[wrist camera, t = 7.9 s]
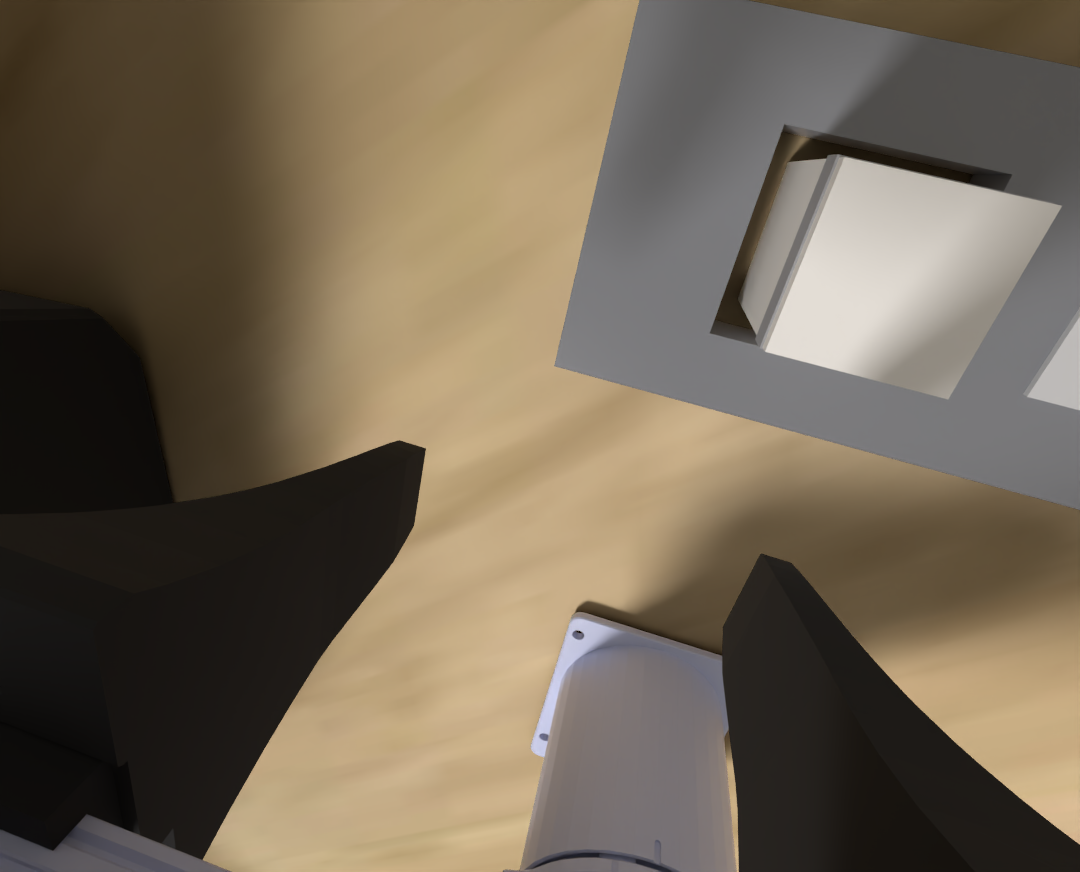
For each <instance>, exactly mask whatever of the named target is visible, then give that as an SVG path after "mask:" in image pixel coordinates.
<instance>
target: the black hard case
mask: <svg viewBox="0 0 1080 872" xmlns="http://www.w3.org/2000/svg"><path fill="white" fill-rule="evenodd" d="M171 503H173V501H172V496H171V492H170V488H169V483H168V479H167V475H166V470H165V466H164V461H163V457H162V453H161V448H160V444H159V440H158V435H157V431H156V427H155V422H154V418H153V413H152V409H151V405H150V400H149V396H148V392H147V387H146V383H145V378H144V374H143V370H142V365H141V361H140V357H139V356H138V355H137V354H136V353H135V352H134V351H133V350H132V349H131V348H130V346H129V345H128V344H127V343H126V342H125V341H124V340H123V339H122V338H121V337H120V336H119V335H118V334H117V332H116V331H115V330H114V329H113V328H112V327H111V326H110V325H109V324H108V323H107V322H106V321H105V320H104V319H103V318H102V317H101V316H99V315H98V314H96V313H95V312H94V311H92V310H91V309H89V308H84V307H80V306H75V305H70V304H65V303H60V302H55V301H51V300H46V299H41V298H36V297H31V296H26V295H22V294H17V293H12V292H7V291H2V290H0V514H38V513H74V512H92V511H105V510H118V509H130V508H139V507H149V506H157V505H165V504H171Z"/></svg>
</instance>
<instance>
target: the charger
mask: <svg viewBox="0 0 1080 872" xmlns="http://www.w3.org/2000/svg"><path fill="white" fill-rule="evenodd" d="M1061 207H1062V206H1061V205H1056V204H1053V202H1049V201H1045V200H1040V199H1036V198H1031V197H1027V196H1022V195H1018V194H1013V193H1009V192H1004V191H1000V190H995V189H991V188H987V187H982V186H978V185H973V184H969V183H964V182H960V181H955V180H951V179H946V178H942V177H937V176H933V175H929V174H924V173H920V172H915V171H911V170H906V169H902V168H897V167H893V166H888V165H884V164H879V163H875V162H871V161H866V160H862V159H857V158H853V157H848V156H844V155H839V154H835V155H828V156H827V159H816V160H805V161H794V162H788V164H787V166H786V169H785V172H784V174H783V177H782V180H781V183H780V185H779V188H778V191H777V193H776V196H775V199H774V201H773V204H772V207H771V210H770V212H769V215H768V218H767V220H766V223H765V226H764V229H763V231H762V234H761V237H760V239H759V242H758V245H757V248H756V250H755V253H754V256H753V258H752V261H751V264H750V267H749V269H748V272H747V275H746V277H745V280H744V283H743V286H742V288H741V291H740V294H739V296H738V301H739V302H740V304H741V306H742V308H743V310H744V312H745V314H746V316H747V318H748V320H749V322H750V324H751V326H752V328H753V330H754V331H755V333H756V338H755V340H756V342H757V344H758V346H759V348H760V349H764V351H765V352H768V353H772V354H776V355H779V356H783V357H787V358H791V359H795V360H799V361H802V362H806V363H810V364H814V365H818V366H822V367H826V368H829V369H833V370H837V371H841V372H845V373H849V374H852V375H856V376H860V377H864V378H868V379H872V380H875V381H879V382H883V383H887V384H891V385H895V386H898V387H902V388H906V389H910V390H914V391H918V392H921V393H925V394H929V395H933V396H937V397H941V398H944V399H949V397H950V395H951V394H952V392H953V390H954V389H955V387H956V385H957V383H958V382H959V380H960V378H961V377H962V375H963V373H964V372H965V370H966V368H967V367H968V365H969V363H970V361H971V360H972V358H973V356H974V355H975V353H976V351H977V350H978V348H979V346H980V344H981V343H982V341H983V339H984V338H985V336H986V334H987V333H988V331H989V329H990V327H991V326H992V324H993V322H994V321H995V319H996V317H997V316H998V314H999V312H1000V311H1001V309H1002V307H1003V305H1004V304H1005V302H1006V300H1007V299H1008V297H1009V295H1010V294H1011V292H1012V290H1013V288H1014V287H1015V285H1016V283H1017V282H1018V280H1019V278H1020V277H1021V275H1022V273H1023V272H1024V270H1025V268H1026V266H1027V265H1028V263H1029V261H1030V260H1031V258H1032V256H1033V255H1034V253H1035V251H1036V249H1037V248H1038V246H1039V244H1040V243H1041V241H1042V239H1043V238H1044V236H1045V234H1046V233H1047V231H1048V229H1049V227H1050V226H1051V224H1052V222H1053V221H1054V219H1055V217H1056V216H1057V214H1058V212H1059V210H1060V209H1061Z"/></svg>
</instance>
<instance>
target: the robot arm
mask: <svg viewBox="0 0 1080 872" xmlns="http://www.w3.org/2000/svg"><path fill="white" fill-rule="evenodd" d="M425 451H426V449H425V448H422V447H419V446H416V445H413V444H409V443H406V442H403V441H400V440H399V441H395V442H392V443H389V444H386V445H383V446H380V447H378V448H375V449H372V450H370V451H367V452H364V453H362V454H359V455H357V456H354V457H351V458H348V459H346V460H343V461H340V462H337V463H335V464H332V465H329V466H326V467H324V468H321V469H317V470H314V471H311V472H308V473H305V474H302V475H298V476H295V477H292V478H289V479H286V480H283V481H279V482H276V483H272V484H269V485H265V486H261V487H257V488H253V489H248V490H244V491H239V492H235V493H230V494H226V495H221V496H216V497H210V498H203V499H197V500H190V501H184V502H178V503H171V504H165V505H157V506H149V507H139V508H130V509H118V510H105V511H92V512H74V513H38V514H0V872H231V871H228V870H226V869H223V868H221V867H218V866H216V865H213V864H211V863H208V862H206V861H203V858H204V856H205V854H206V852H207V850H208V848H209V847H210V845H211V843H212V841H213V839H214V837H215V836H216V834H217V832H218V830H219V828H220V826H221V825H222V823H223V821H224V819H225V817H226V815H227V813H228V812H229V810H230V808H231V806H232V804H233V803H234V801H235V799H236V797H237V796H238V794H239V792H240V790H241V789H242V787H243V785H244V783H245V782H246V780H247V778H248V776H249V775H250V773H251V771H252V769H253V768H254V766H255V764H256V762H257V761H258V759H259V757H260V755H261V754H262V752H263V750H264V748H265V747H266V745H267V743H268V742H269V740H270V738H271V737H272V735H273V733H274V732H275V730H276V728H277V727H278V725H279V723H280V722H281V720H282V718H283V717H284V715H285V713H286V712H287V710H288V708H289V707H290V705H291V703H292V702H293V700H294V698H295V697H296V695H297V694H298V692H299V690H300V689H301V687H302V686H303V684H304V682H305V681H306V679H307V678H308V676H309V674H310V673H311V671H312V670H313V668H314V666H315V665H316V663H317V662H318V660H319V659H320V657H321V656H322V654H323V653H324V652H325V650H326V649H327V647H328V646H329V645H330V643H331V642H332V640H333V639H334V638H335V637H336V635H337V634H338V633H339V631H340V630H341V629H342V628H343V626H344V625H345V624H346V622H347V621H348V620H349V619H350V617H351V616H352V615H353V614H354V612H355V611H356V610H357V608H358V607H359V606H360V605H361V603H362V602H363V601H364V599H365V598H366V597H367V596H368V594H369V593H370V592H371V590H372V589H373V588H374V587H375V585H376V584H377V583H378V581H379V580H380V579H381V577H382V576H383V575H384V573H385V572H386V571H387V570H388V568H389V567H390V566H391V564H392V563H393V561H394V560H395V558H396V556H397V555H398V553H399V551H400V550H401V548H402V546H403V544H404V543H405V541H406V539H407V537H408V535H409V534H410V532H411V530H412V528H413V526H414V522H415V516H416V509H417V503H418V496H419V490H420V483H421V477H422V470H423V464H424V457H425ZM576 630H578V631H581V632H583V633H577V632H576ZM728 730H729V734H730V742H731V750H732V758H733V766H734V774H735V782H736V794H737V807H738V847H739V872H1080V845H1079V844H1078V843H1077V842H1075V841H1074V840H1073V839H1071V838H1070V837H1069V836H1067V835H1066V834H1065V833H1063V832H1062V831H1061V830H1059V829H1058V828H1057V827H1055V826H1054V825H1053V824H1051V823H1050V822H1049V821H1048V820H1046V819H1045V818H1044V817H1043V816H1041V815H1040V814H1039V813H1038V812H1036V811H1035V810H1034V809H1033V808H1031V807H1030V806H1029V805H1028V804H1026V803H1025V802H1024V801H1023V800H1021V799H1020V798H1019V797H1018V796H1016V795H1015V794H1014V793H1013V792H1012V791H1011V790H1009V789H1008V788H1007V787H1006V786H1005V785H1003V784H1002V783H1001V782H1000V781H999V780H998V779H996V778H995V777H994V776H993V775H992V774H990V773H989V772H988V771H987V770H986V769H985V768H983V767H982V766H981V765H980V764H979V763H977V762H976V761H975V760H974V759H973V758H972V757H971V756H970V755H968V754H967V753H966V752H965V751H964V750H963V749H962V748H961V747H959V746H958V745H957V744H956V743H955V742H954V741H953V740H952V739H951V738H950V737H949V736H948V735H947V734H946V733H944V732H943V731H942V730H941V729H940V728H939V727H938V726H937V725H936V724H935V723H934V722H933V721H932V720H931V719H930V718H929V717H928V716H927V715H926V714H925V713H924V712H923V711H921V710H920V709H919V708H918V707H917V706H916V705H915V704H914V703H913V702H912V701H911V700H910V699H909V698H908V697H907V695H906V694H905V693H904V692H903V691H902V690H901V689H900V688H899V687H898V686H897V685H896V684H895V683H894V682H893V681H892V680H891V678H890V677H889V676H888V675H887V674H886V673H885V672H884V671H883V670H882V669H881V668H880V667H879V665H878V664H877V663H876V662H875V661H874V660H873V659H872V658H871V657H870V655H869V654H868V653H867V652H866V651H865V650H864V649H863V647H862V646H861V645H860V644H859V643H858V642H857V640H856V639H855V638H854V637H853V636H852V635H851V633H850V632H849V631H848V630H847V629H846V627H845V626H844V625H843V624H842V623H841V621H840V620H839V619H838V618H837V617H836V615H835V614H834V613H833V612H832V610H831V609H830V608H829V607H828V606H827V604H826V603H825V602H824V601H823V599H822V598H821V597H820V596H819V595H818V593H817V592H816V591H815V590H814V588H813V587H812V586H811V585H810V584H809V582H808V581H807V580H806V579H805V578H804V576H803V575H802V574H801V573H800V572H799V571H798V570H797V569H796V568H795V567H794V566H793V564H792V563H789V562H786V561H783V560H780V559H777V558H773V557H770V556H767V555H764V554H760V556H759V558H758V560H757V562H756V564H755V566H754V568H753V570H752V572H751V574H750V575H749V577H748V579H747V581H746V583H745V585H744V587H743V589H742V591H741V593H740V595H739V597H738V599H737V601H736V603H735V605H734V607H733V609H732V611H731V612H730V614H729V616H728V618H727V620H726V622H725V624H724V626H723V646H722V656H721V655H718V654H715V653H711V652H708V651H705V650H702V649H699V648H695V647H692V646H689V645H686V644H683V643H680V642H676V641H673V640H670V639H667V638H664V637H661V636H657V635H654V634H651V633H648V632H645V631H642V630H638V629H635V628H632V627H629V626H626V625H623V624H619V623H616V622H613V621H610V620H607V619H604V618H600V617H597V616H594V615H591V614H588V613H584V612H577V613H575V614H573V615H572V617H571V619H570V622H569V626H568V629H567V632H566V635H565V638H564V641H563V644H562V648H561V651H560V654H559V657H558V660H557V663H556V667H555V670H554V673H553V676H552V679H551V682H550V686H549V689H548V692H547V695H546V698H545V701H544V705H543V708H542V711H541V714H540V717H539V720H538V724H537V727H536V730H535V733H534V736H533V739H532V743H531V750H532V751H533V752H534V753H535V754H536V755H539V756H541V757H544V761H543V765H542V770H541V774H540V779H539V784H538V788H537V793H536V797H535V802H534V806H533V811H532V816H531V820H530V825H529V829H528V834H527V839H526V843H525V848H524V852H523V857H522V861H521V866H520V870H508V869H505V870H503V872H737V871H736V860H735V850H734V839H733V828H732V817H731V806H730V796H729V785H728V774H727V763H726V752H725V742H724V737H725V735H726V733H727V731H728Z"/></svg>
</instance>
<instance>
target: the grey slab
mask: <svg viewBox="0 0 1080 872" xmlns="http://www.w3.org/2000/svg"><path fill="white" fill-rule="evenodd" d="M781 132H786V133H790V134H795V135H799V136H803V137H808V138H812V139H817V140H821V141H826V142H830V143H835V144H839V145H844V146H848V147H853V148H857V149H862V150H866V151H871V152H875V153H880V154H884V155H888V156H893V157H897V158H902V159H906V160H911V161H915V162H920V163H924V164H929V165H933V166H938V167H942V168H947V169H951V170H956V171H960V172H965V173H969V174H973V176H972V178H971V180H970V182H969V184H973V185H978V186H982V187H987V188H991V189H995V190H1000V191H1004V192H1009V193H1013V194H1018V195H1022V196H1027V197H1031V198H1036V199H1040V200H1045V201H1049V202H1053V204H1056V205H1061V206H1062V207H1061V209H1060V210H1059V212H1058V214H1057V216H1056V217H1055V219H1054V221H1053V222H1052V224H1051V226H1050V227H1049V229H1048V231H1047V233H1046V234H1045V236H1044V238H1043V239H1042V241H1041V243H1040V244H1039V246H1038V248H1037V249H1036V251H1035V253H1034V255H1033V256H1032V258H1031V260H1030V261H1029V263H1028V265H1027V266H1026V268H1025V270H1024V272H1023V273H1022V275H1021V277H1020V278H1019V280H1018V282H1017V283H1016V285H1015V287H1014V288H1013V290H1012V292H1011V294H1010V295H1009V297H1008V299H1007V300H1006V302H1005V304H1004V305H1003V307H1002V309H1001V311H1000V312H999V314H998V316H997V317H996V319H995V321H994V322H993V324H992V326H991V327H990V329H989V331H988V333H987V334H986V336H985V338H984V339H983V341H982V343H981V344H980V346H979V348H978V350H977V351H976V353H975V355H974V356H973V358H972V360H971V361H970V363H969V365H968V367H967V368H966V370H965V372H964V373H963V375H962V377H961V378H960V380H959V382H958V383H957V385H956V387H955V389H954V390H953V392H952V394H951V395H950V397H949V399H944V398H941V397H937V396H933V395H929V394H925V393H921V392H918V391H914V390H910V389H906V388H902V387H898V386H895V385H891V384H887V383H883V382H879V381H875V380H872V379H868V378H864V377H860V376H856V375H852V374H849V373H845V372H841V371H837V370H833V369H829V368H826V367H822V366H818V365H814V364H810V363H806V362H802V361H799V360H795V359H791V358H787V357H783V356H779V355H776V354H772V353H768V352H765V351H764V349H760V348H759V346H758V344H757V342H756V340H755V338H756V333H755V331H754V330H751V329H747V328H743V327H740V326H736V325H732V324H728V323H724V322H720V321H716V320H715V317H716V314H717V311H718V308H719V306H720V303H721V300H722V297H723V294H724V292H725V289H726V286H727V283H728V280H729V278H730V275H731V272H732V269H733V266H734V264H735V261H736V258H737V255H738V252H739V250H740V247H741V244H742V241H743V238H744V236H745V233H746V230H747V227H748V224H749V222H750V219H751V216H752V213H753V210H754V208H755V205H756V202H757V199H758V196H759V194H760V191H761V188H762V185H763V182H764V180H765V177H766V174H767V171H768V168H769V166H770V163H771V160H772V157H773V154H774V152H775V149H776V146H777V143H778V140H779V138H780V135H781ZM554 366H556V367H559V368H563V369H567V370H570V371H574V372H578V373H581V374H585V375H589V376H592V377H596V378H599V379H603V380H607V381H610V382H614V383H618V384H621V385H625V386H629V387H632V388H636V389H640V390H643V391H647V392H651V393H654V394H658V395H662V396H665V397H669V398H673V399H676V400H680V401H684V402H687V403H691V404H694V405H698V406H702V407H705V408H709V409H713V410H716V411H720V412H724V413H727V414H731V415H735V416H738V417H742V418H746V419H749V420H753V421H757V422H760V423H764V424H768V425H771V426H775V427H779V428H782V429H786V430H790V431H793V432H797V433H800V434H804V435H808V436H811V437H815V438H819V439H822V440H826V441H830V442H833V443H837V444H841V445H844V446H848V447H852V448H855V449H859V450H863V451H866V452H870V453H874V454H877V455H881V456H885V457H888V458H892V459H895V460H899V461H903V462H906V463H910V464H914V465H917V466H921V467H925V468H928V469H932V470H936V471H939V472H943V473H947V474H950V475H954V476H958V477H961V478H965V479H969V480H972V481H976V482H980V483H983V484H987V485H990V486H994V487H998V488H1001V489H1005V490H1009V491H1012V492H1016V493H1020V494H1023V495H1027V496H1031V497H1034V498H1038V499H1042V500H1045V501H1049V502H1053V503H1056V504H1060V505H1064V506H1067V507H1071V508H1075V509H1078V510H1080V67H1075V66H1070V65H1065V64H1060V63H1055V62H1050V61H1045V60H1040V59H1036V58H1031V57H1026V56H1021V55H1016V54H1011V53H1006V52H1001V51H996V50H991V49H986V48H981V47H976V46H971V45H966V44H961V43H956V42H952V41H947V40H942V39H937V38H932V37H927V36H922V35H917V34H912V33H907V32H902V31H897V30H892V29H887V28H882V27H877V26H873V25H868V24H863V23H858V22H853V21H848V20H843V19H838V18H833V17H828V16H823V15H818V14H813V13H808V12H803V11H798V10H793V9H789V8H784V7H779V6H774V5H769V4H764V3H759V2H754V1H749V0H640V1H639V5H638V9H637V13H636V18H635V22H634V26H633V31H632V35H631V39H630V43H629V48H628V52H627V56H626V61H625V65H624V69H623V73H622V78H621V82H620V86H619V91H618V95H617V99H616V104H615V108H614V112H613V116H612V121H611V125H610V129H609V134H608V138H607V142H606V146H605V151H604V155H603V159H602V164H601V168H600V172H599V176H598V181H597V185H596V189H595V194H594V198H593V202H592V207H591V211H590V215H589V219H588V224H587V228H586V232H585V237H584V241H583V245H582V249H581V254H580V258H579V262H578V267H577V271H576V275H575V279H574V284H573V288H572V292H571V297H570V301H569V305H568V310H567V314H566V318H565V322H564V327H563V331H562V335H561V340H560V344H559V348H558V352H557V357H556V361H555V365H554Z"/></svg>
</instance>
